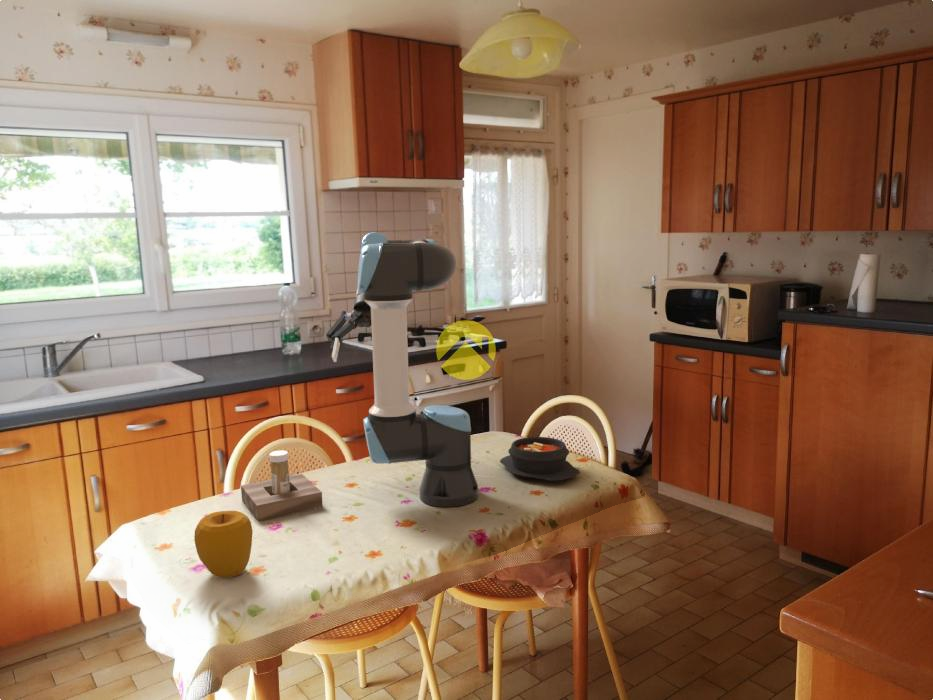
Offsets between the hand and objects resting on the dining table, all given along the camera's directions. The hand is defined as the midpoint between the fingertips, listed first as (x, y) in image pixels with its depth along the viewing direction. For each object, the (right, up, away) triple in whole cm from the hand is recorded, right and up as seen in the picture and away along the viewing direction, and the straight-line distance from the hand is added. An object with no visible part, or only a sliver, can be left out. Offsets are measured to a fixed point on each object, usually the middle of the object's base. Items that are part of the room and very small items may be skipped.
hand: (357, 359), depth 195 cm
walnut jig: (-17, -36, -17) cm, 44 cm away
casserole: (+51, -32, +2) cm, 60 cm away
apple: (-18, -43, -54) cm, 71 cm away
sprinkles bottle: (-17, -37, -17) cm, 44 cm away
